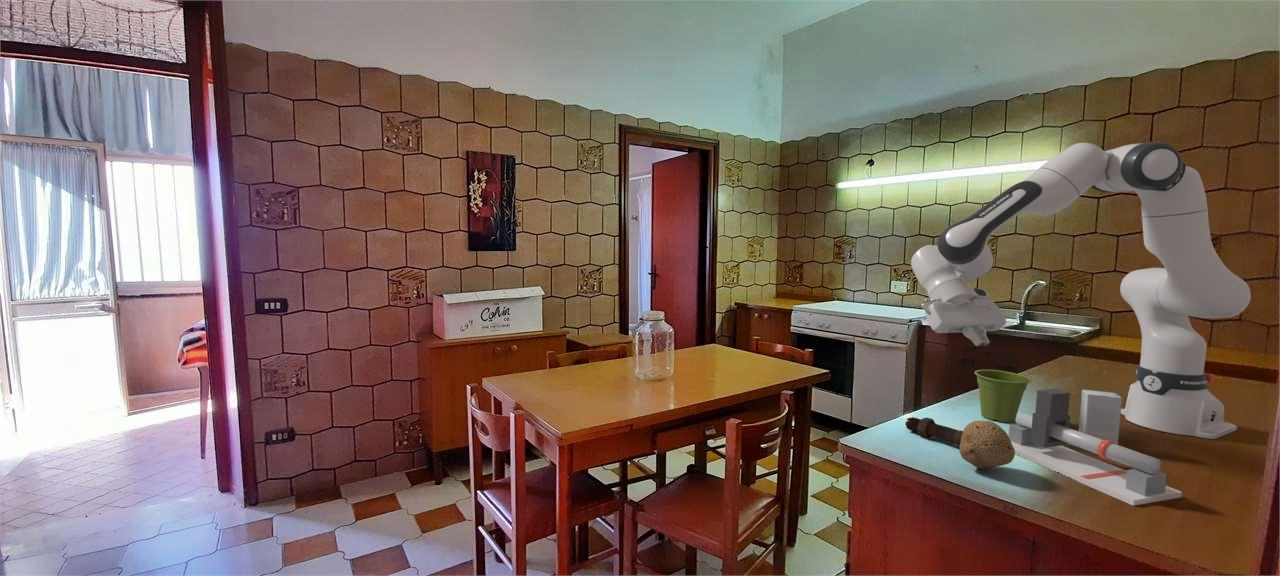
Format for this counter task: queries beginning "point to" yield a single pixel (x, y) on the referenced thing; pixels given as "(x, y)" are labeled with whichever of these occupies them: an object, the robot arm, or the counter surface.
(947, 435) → the bolt
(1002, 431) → the natural sponge
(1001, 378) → the plant pot
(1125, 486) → the pipe stand
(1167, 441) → the counter surface
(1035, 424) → the collar
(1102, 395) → the skincare box
